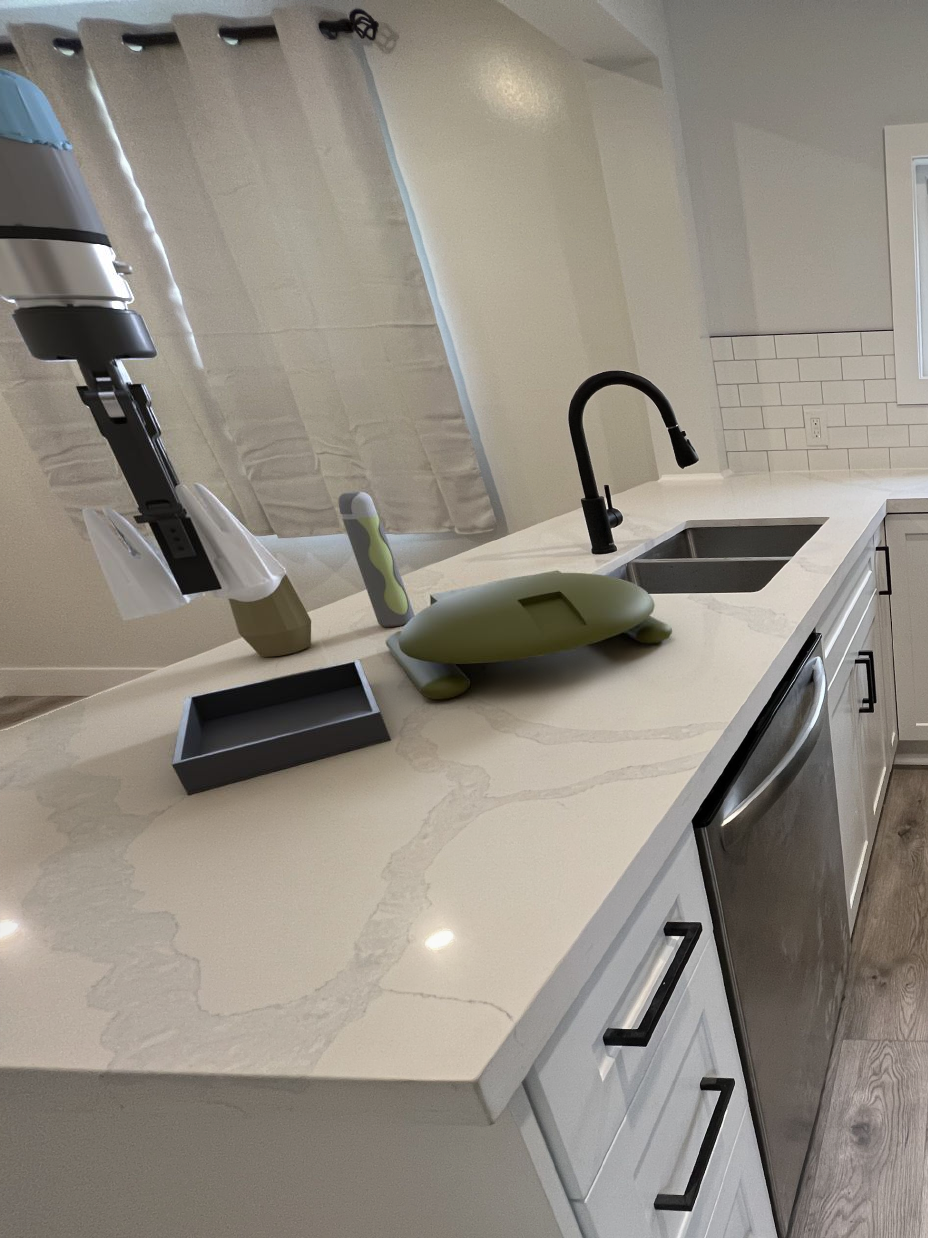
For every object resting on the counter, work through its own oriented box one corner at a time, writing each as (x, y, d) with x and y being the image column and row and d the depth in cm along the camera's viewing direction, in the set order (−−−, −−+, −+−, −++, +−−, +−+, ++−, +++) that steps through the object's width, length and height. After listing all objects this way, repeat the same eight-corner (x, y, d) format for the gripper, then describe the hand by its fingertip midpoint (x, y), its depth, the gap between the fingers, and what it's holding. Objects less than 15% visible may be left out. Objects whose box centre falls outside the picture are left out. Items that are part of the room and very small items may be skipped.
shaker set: (295, 589, 76) (249, 476, 72) (287, 599, 73) (238, 481, 68) (136, 611, 71) (75, 490, 66) (120, 622, 68) (55, 496, 63)
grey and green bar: (423, 620, 119) (379, 490, 111) (392, 629, 115) (344, 495, 107) (403, 617, 121) (359, 489, 113) (372, 626, 117) (323, 494, 109)
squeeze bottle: (234, 660, 105) (174, 530, 97) (288, 640, 112) (237, 518, 105) (283, 661, 104) (226, 530, 96) (334, 641, 111) (286, 518, 103)
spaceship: (385, 648, 107) (361, 581, 103) (603, 600, 126) (590, 541, 122) (440, 724, 83) (410, 641, 79) (699, 651, 102) (686, 580, 98)
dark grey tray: (198, 723, 86) (185, 697, 85) (368, 683, 95) (359, 659, 94) (187, 795, 71) (171, 764, 70) (390, 739, 80) (380, 711, 79)
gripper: (128, 299, 57) (256, 595, 67) (146, 314, 70) (252, 562, 80) (-19, 298, 53) (140, 615, 63) (28, 314, 65) (155, 577, 75)
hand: (202, 585), depth 71 cm, fingers closed on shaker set, 5 cm apart
